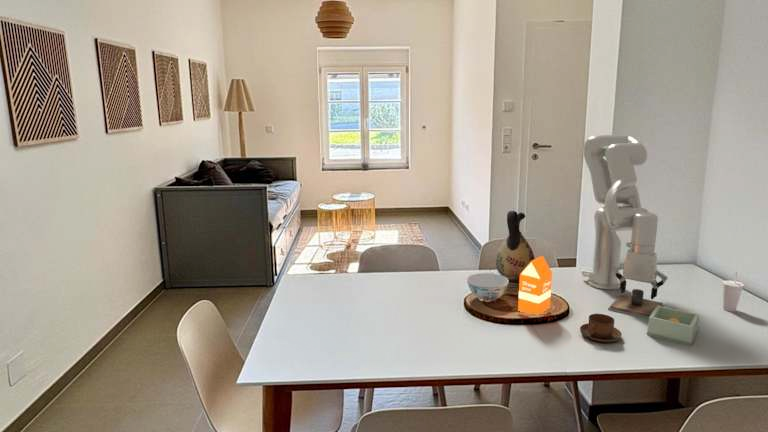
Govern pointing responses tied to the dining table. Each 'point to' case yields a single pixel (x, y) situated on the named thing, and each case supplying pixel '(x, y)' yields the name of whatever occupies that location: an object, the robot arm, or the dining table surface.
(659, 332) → the dish
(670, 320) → the clementine
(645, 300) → the lid
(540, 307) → the orange juice
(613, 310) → the mat
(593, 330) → the cup and saucer
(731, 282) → the smoothie
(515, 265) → the ceramic jug
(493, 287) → the chinaware
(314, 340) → the dining table surface
